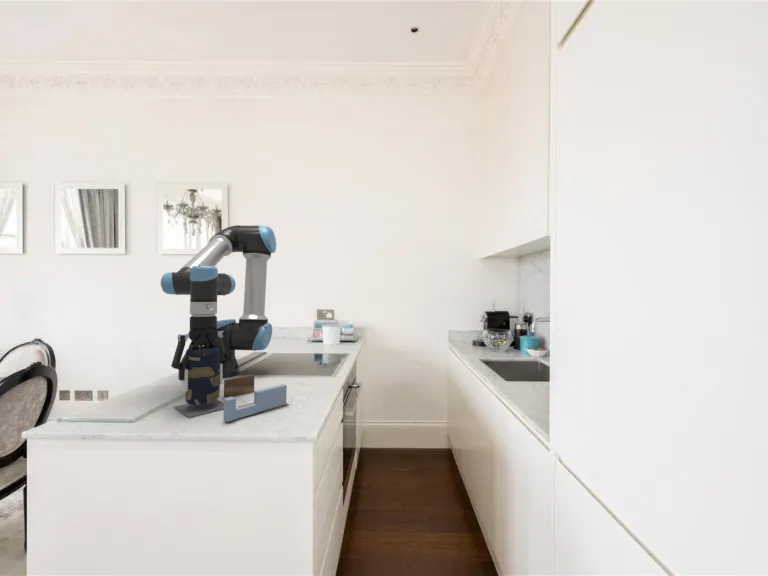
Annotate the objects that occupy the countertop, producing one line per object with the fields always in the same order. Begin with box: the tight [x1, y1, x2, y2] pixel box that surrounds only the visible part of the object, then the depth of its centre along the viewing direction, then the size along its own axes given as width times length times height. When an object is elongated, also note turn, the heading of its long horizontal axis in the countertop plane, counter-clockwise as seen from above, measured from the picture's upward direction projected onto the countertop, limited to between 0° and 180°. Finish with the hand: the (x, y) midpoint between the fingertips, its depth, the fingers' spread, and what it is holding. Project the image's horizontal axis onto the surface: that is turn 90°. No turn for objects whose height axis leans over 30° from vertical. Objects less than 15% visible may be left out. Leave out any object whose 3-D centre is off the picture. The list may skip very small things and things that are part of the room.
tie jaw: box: [223, 383, 288, 423], centre depth 102 cm, size 3×19×6 cm, turn 139°
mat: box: [173, 399, 224, 419], centre depth 106 cm, size 12×12×1 cm
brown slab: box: [223, 374, 290, 416], centre depth 113 cm, size 23×12×6 cm, turn 49°
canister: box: [184, 345, 221, 405], centre depth 106 cm, size 10×10×18 cm
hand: (202, 386), depth 106 cm, fingers closed on canister, 9 cm apart
